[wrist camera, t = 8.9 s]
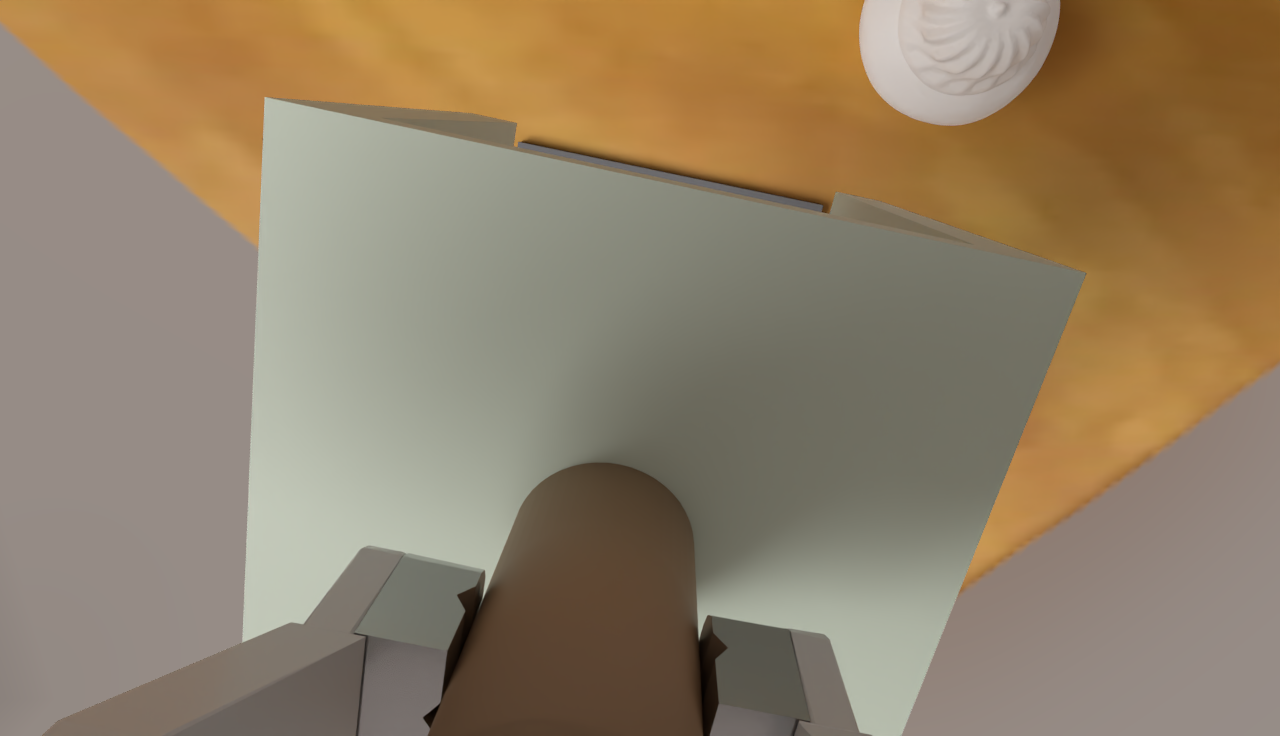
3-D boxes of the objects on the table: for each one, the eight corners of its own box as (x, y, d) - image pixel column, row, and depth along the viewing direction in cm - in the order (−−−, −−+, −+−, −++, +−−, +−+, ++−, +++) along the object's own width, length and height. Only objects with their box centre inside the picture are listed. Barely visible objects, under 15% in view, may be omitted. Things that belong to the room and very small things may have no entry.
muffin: (823, -29, 26) (872, -82, 20) (998, -82, 26) (1110, -155, 19) (853, 145, 28) (909, 150, 22) (1018, 101, 27) (1127, 92, 21)
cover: (880, 200, 20) (1477, 409, 5) (773, 554, 23) (945, 1286, 8) (472, 112, 19) (-143, 63, 5) (425, 483, 23) (-15, 1111, 8)
